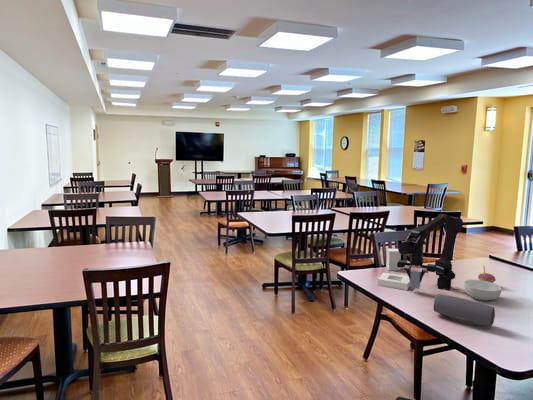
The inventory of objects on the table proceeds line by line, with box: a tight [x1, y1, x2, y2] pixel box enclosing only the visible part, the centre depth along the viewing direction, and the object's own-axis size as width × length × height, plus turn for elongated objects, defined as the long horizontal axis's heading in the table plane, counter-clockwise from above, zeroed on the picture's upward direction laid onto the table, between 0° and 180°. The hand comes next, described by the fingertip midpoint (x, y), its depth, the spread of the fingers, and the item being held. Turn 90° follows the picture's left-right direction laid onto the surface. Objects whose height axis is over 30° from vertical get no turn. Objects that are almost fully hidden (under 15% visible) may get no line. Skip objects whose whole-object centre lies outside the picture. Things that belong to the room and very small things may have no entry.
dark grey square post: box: [409, 270, 421, 290], centre depth 205 cm, size 4×4×8 cm
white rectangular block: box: [385, 248, 402, 272], centre depth 247 cm, size 7×7×13 cm
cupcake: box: [477, 264, 496, 283], centre depth 217 cm, size 9×8×12 cm
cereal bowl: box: [463, 279, 503, 302], centre depth 198 cm, size 17×17×7 cm
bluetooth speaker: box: [432, 293, 496, 328], centre depth 169 cm, size 23×9×10 cm, turn 48°
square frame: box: [377, 272, 411, 291], centre depth 219 cm, size 16×14×4 cm
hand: (415, 281), depth 205 cm, fingers closed on dark grey square post, 4 cm apart
